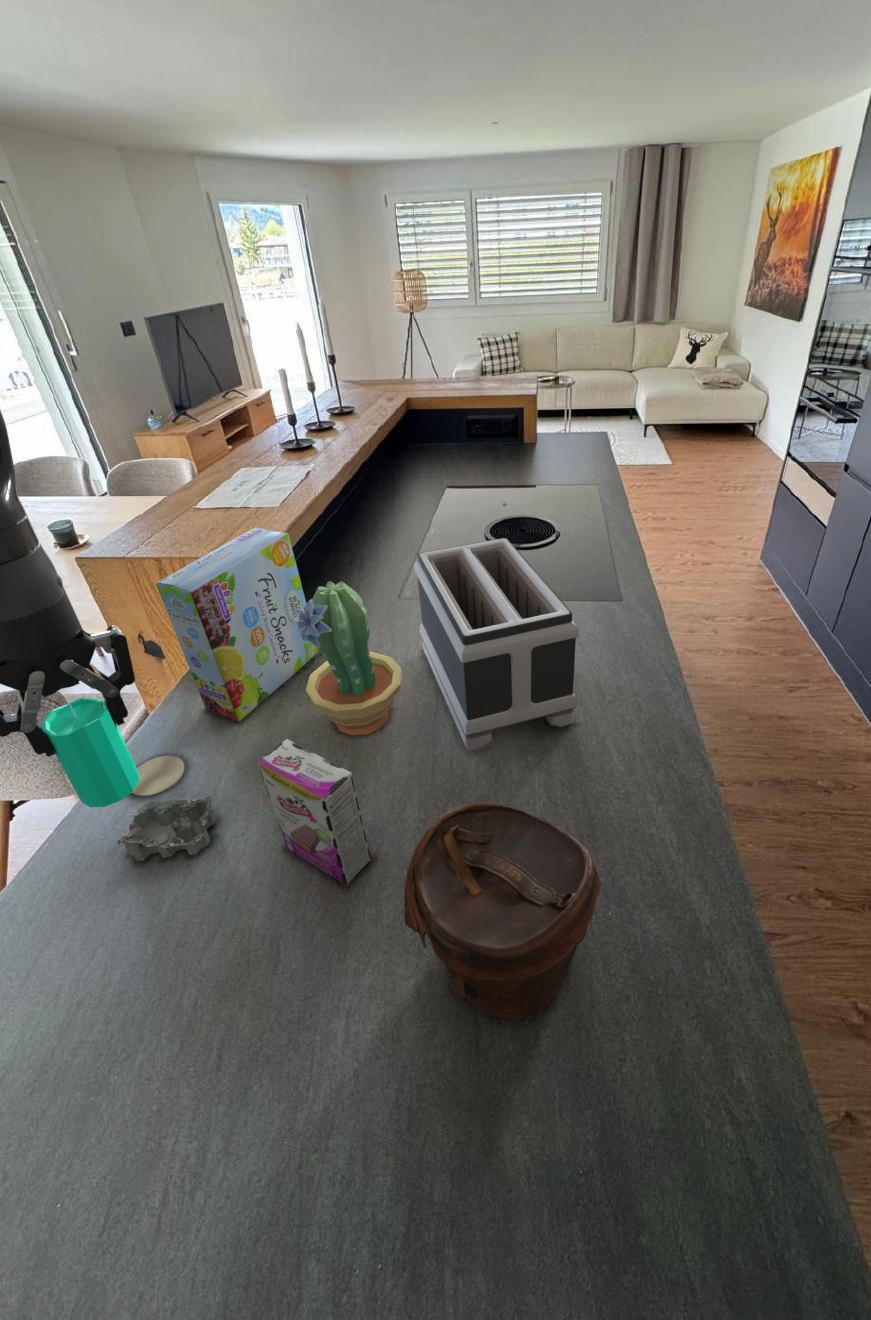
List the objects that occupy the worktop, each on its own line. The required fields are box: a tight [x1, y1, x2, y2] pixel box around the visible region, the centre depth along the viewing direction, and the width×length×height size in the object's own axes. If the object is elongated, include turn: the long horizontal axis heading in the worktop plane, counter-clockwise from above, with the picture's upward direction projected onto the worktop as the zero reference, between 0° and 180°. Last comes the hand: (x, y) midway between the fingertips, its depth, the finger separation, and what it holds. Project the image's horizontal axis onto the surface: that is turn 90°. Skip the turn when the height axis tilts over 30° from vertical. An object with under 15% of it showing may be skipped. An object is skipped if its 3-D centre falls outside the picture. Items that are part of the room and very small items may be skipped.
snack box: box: [155, 527, 320, 723], centre depth 106 cm, size 22×9×26 cm, turn 154°
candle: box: [41, 696, 140, 808], centre depth 65 cm, size 6×6×12 cm
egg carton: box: [117, 795, 217, 862], centre depth 83 cm, size 11×8×4 cm
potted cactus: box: [297, 580, 403, 736], centre depth 97 cm, size 15×15×25 cm
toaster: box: [413, 537, 579, 751], centre depth 105 cm, size 18×34×21 cm, turn 18°
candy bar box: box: [257, 738, 372, 886], centre depth 76 cm, size 11×5×16 cm, turn 58°
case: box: [403, 801, 602, 1019], centre depth 64 cm, size 18×20×18 cm
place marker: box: [131, 755, 185, 797], centre depth 94 cm, size 8×8×1 cm
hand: (85, 735), depth 64 cm, fingers closed on candle, 6 cm apart
